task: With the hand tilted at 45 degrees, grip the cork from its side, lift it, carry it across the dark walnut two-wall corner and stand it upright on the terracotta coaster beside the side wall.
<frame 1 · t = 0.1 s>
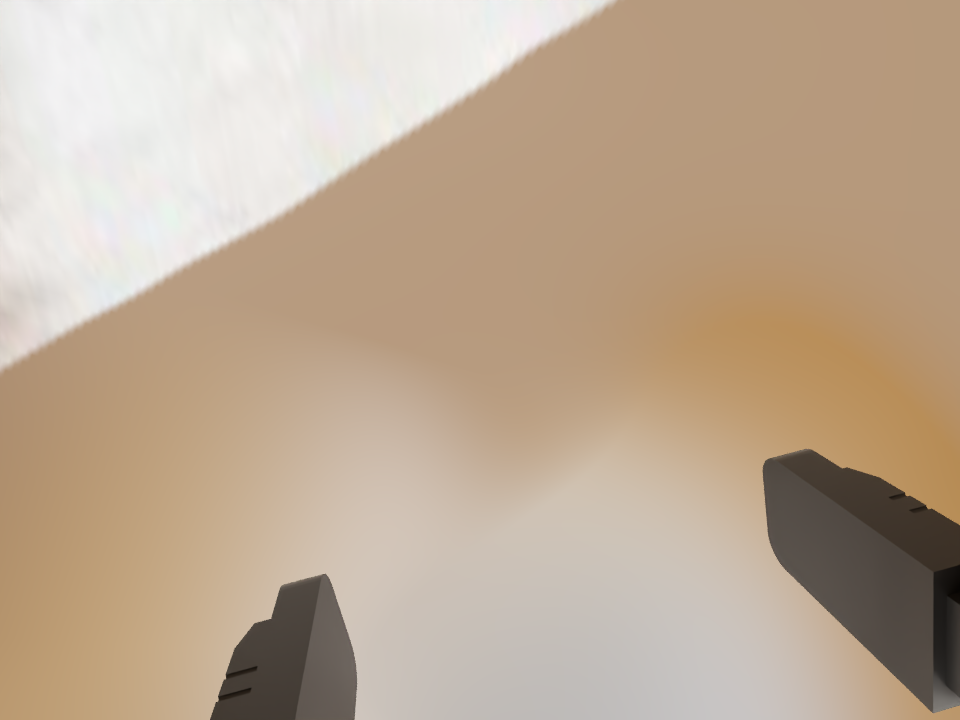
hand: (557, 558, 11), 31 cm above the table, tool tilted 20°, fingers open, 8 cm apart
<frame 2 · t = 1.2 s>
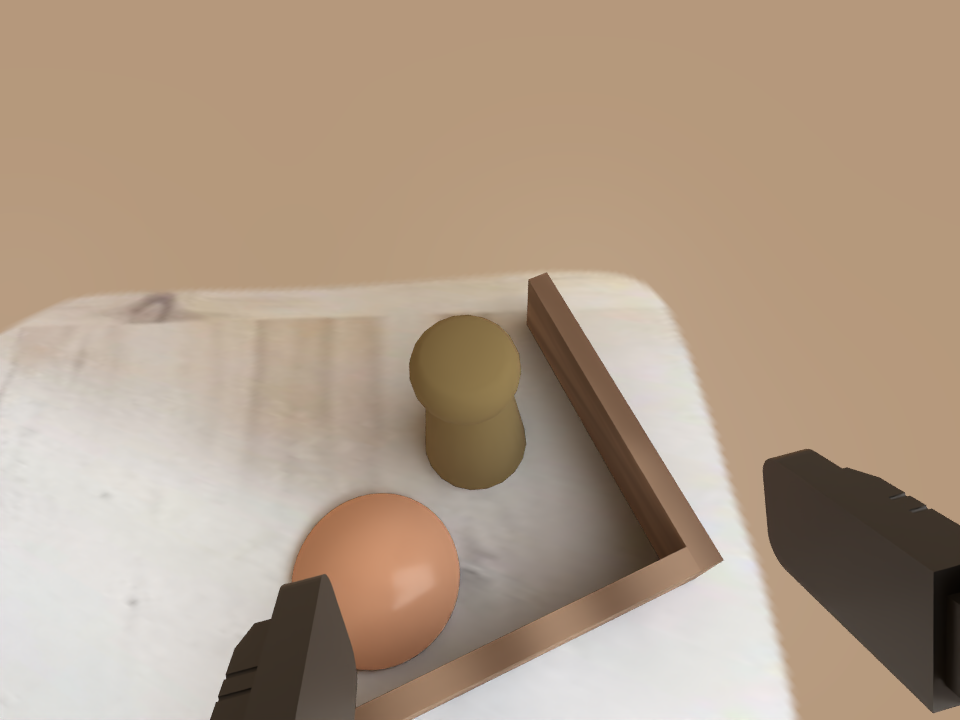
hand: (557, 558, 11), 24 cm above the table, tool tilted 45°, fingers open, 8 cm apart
walnut corner walls: (464, 499, 36), on the table
terracotta coaster: (377, 577, 34), on the table
cork: (475, 441, 37), on the table
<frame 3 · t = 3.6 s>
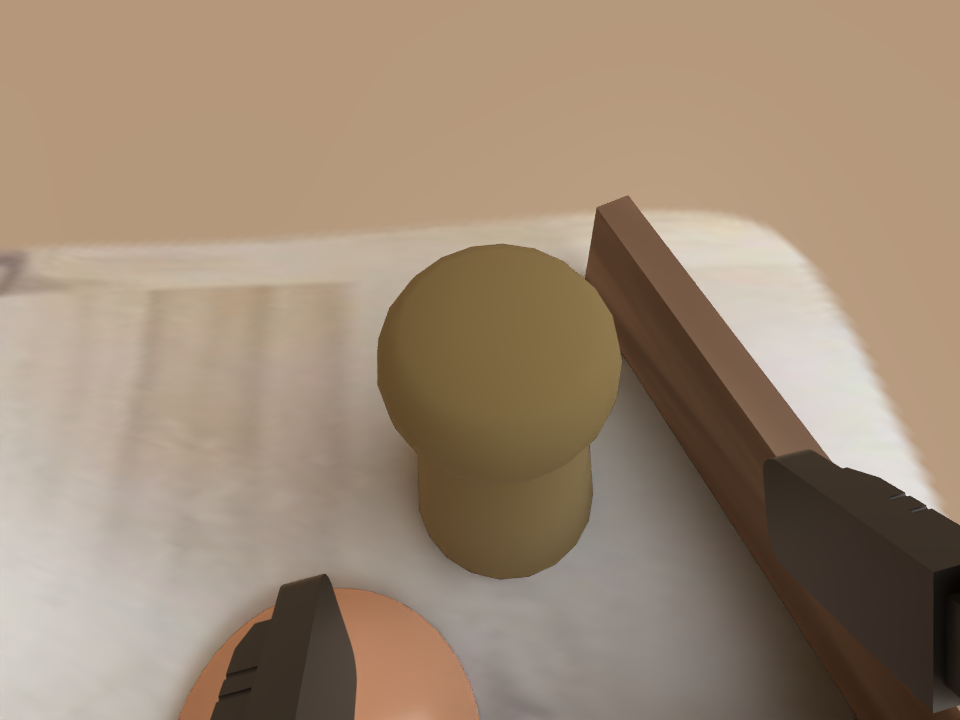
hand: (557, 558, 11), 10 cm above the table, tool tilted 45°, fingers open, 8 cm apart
walnut corner walls: (487, 597, 20), on the table
cork: (504, 489, 22), on the table
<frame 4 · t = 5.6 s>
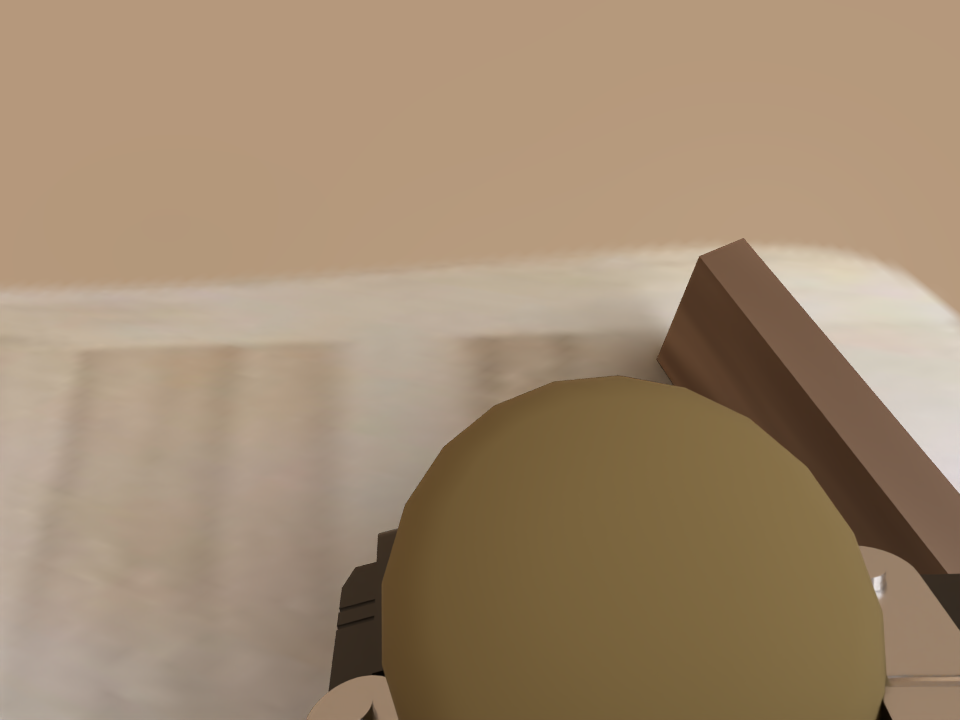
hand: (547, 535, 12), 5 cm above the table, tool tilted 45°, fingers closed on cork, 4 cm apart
cork: (561, 654, 15), on the table, touching gripper
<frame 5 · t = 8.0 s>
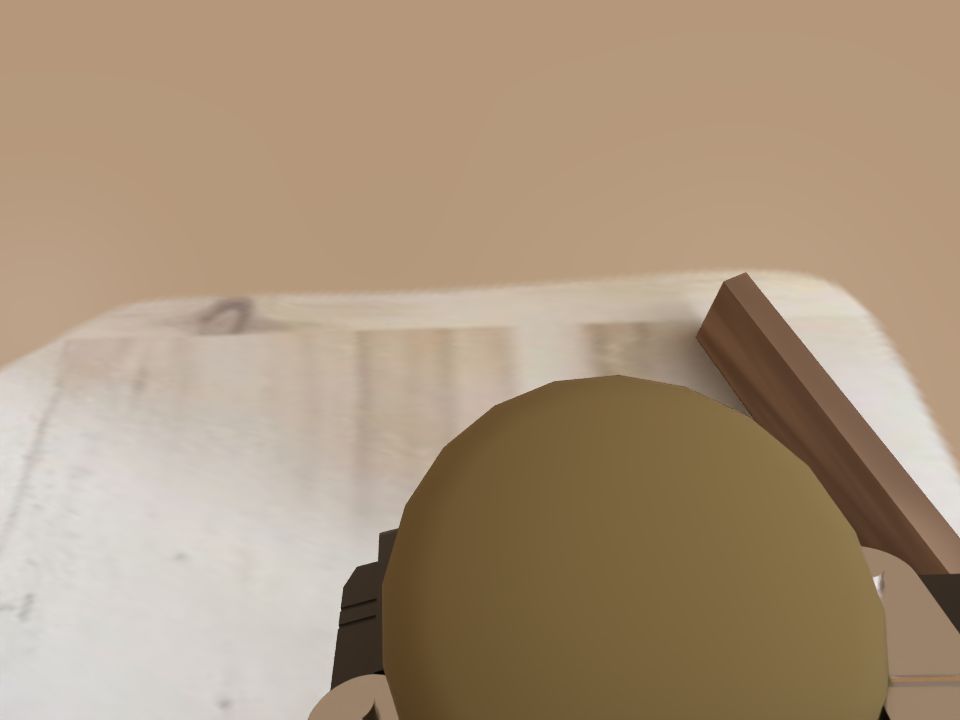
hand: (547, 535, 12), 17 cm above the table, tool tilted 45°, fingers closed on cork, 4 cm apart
walnut corner walls: (646, 565, 28), on the table
cork: (563, 654, 15), point 12 cm above the table, touching gripper
when the fingers open (6 cm above the table, at t = 10.4 s): cork drops 1 cm, resting on terracotta coaster.
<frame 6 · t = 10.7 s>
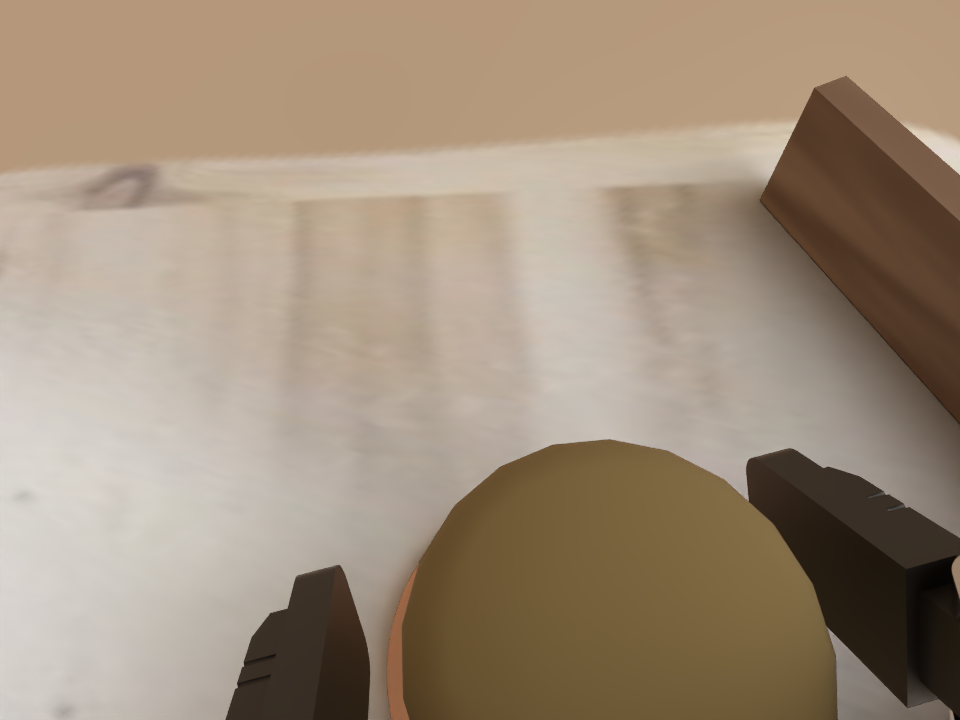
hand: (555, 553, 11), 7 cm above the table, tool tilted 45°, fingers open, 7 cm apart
walnut corner walls: (707, 500, 18), on the table
terracotta coaster: (557, 660, 17), on the table
cork: (561, 672, 16), resting on terracotta coaster
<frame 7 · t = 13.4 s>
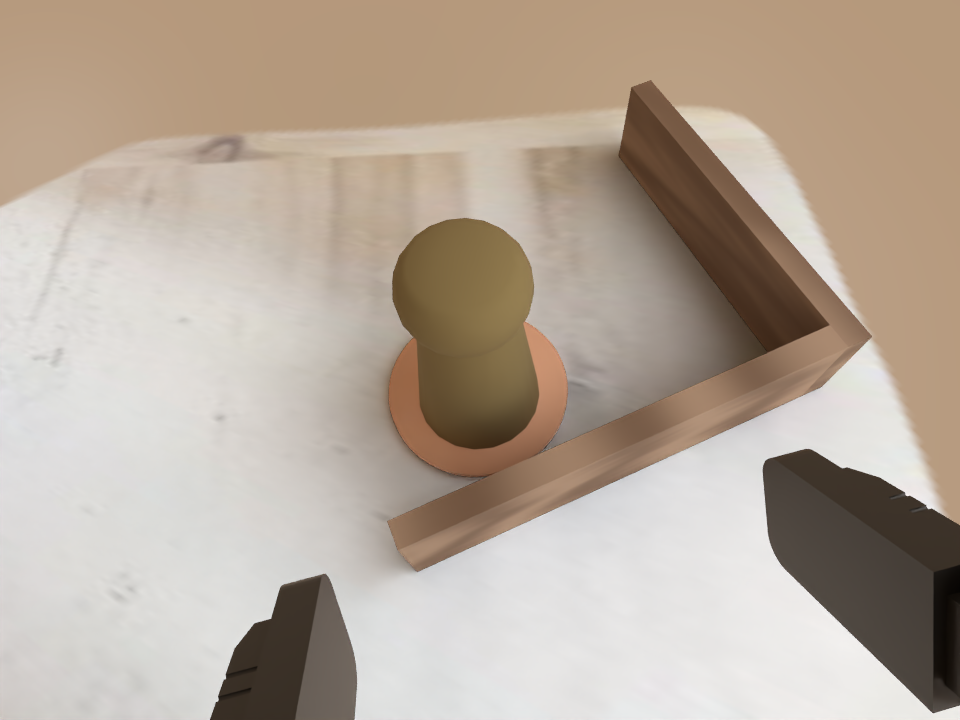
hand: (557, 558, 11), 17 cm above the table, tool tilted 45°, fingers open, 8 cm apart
walnut corner walls: (565, 317, 33), on the table
terracotta coaster: (478, 390, 32), on the table
cork: (479, 393, 31), resting on terracotta coaster
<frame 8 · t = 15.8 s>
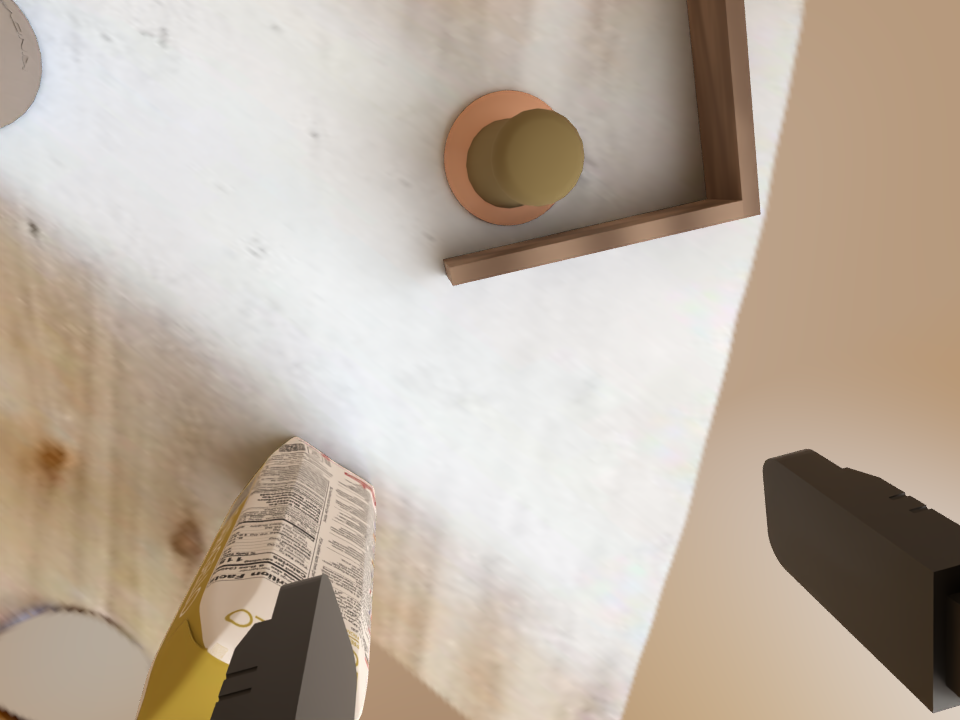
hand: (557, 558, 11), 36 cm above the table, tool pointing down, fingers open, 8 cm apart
walnut corner walls: (584, 112, 44), on the table
juice carton: (312, 489, 49), on the table
terracotta coaster: (507, 160, 44), on the table
cork: (508, 164, 44), resting on terracotta coaster
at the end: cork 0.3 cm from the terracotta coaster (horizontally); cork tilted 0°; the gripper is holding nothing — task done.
